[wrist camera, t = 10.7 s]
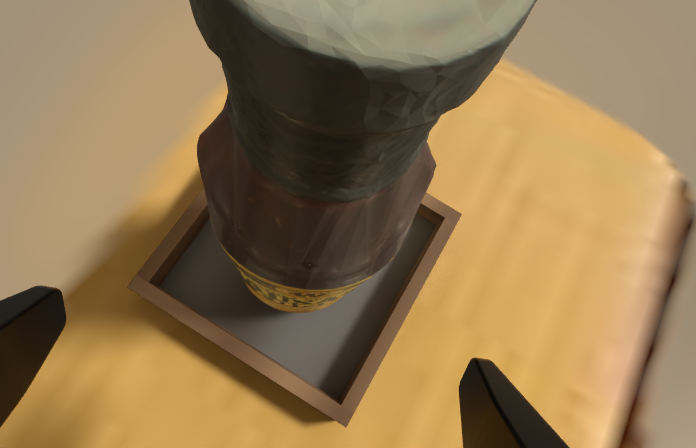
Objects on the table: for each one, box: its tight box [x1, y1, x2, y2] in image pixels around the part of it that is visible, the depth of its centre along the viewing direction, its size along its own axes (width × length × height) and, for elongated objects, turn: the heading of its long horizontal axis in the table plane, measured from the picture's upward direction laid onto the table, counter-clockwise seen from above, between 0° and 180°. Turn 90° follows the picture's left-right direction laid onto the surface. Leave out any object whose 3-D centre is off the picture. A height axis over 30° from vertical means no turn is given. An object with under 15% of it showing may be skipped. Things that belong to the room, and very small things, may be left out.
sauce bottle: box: [189, 0, 537, 313], centre depth 14 cm, size 7×6×20 cm
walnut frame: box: [127, 188, 462, 427], centre depth 23 cm, size 12×12×2 cm
